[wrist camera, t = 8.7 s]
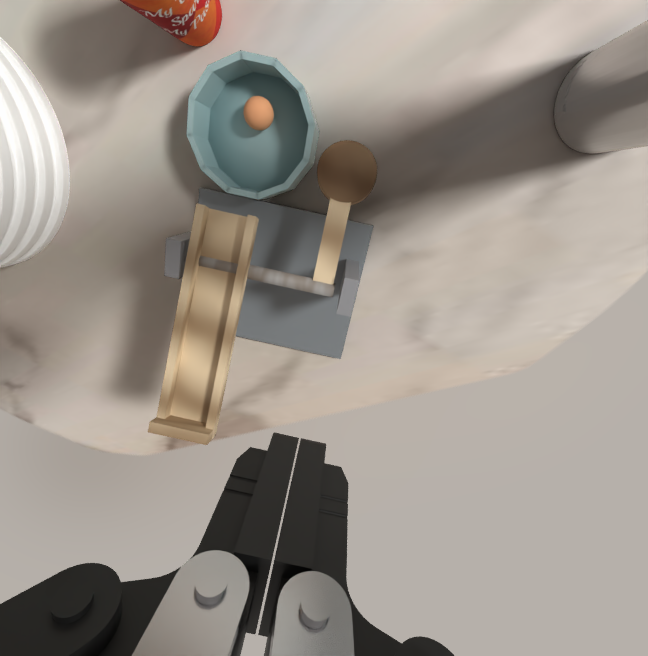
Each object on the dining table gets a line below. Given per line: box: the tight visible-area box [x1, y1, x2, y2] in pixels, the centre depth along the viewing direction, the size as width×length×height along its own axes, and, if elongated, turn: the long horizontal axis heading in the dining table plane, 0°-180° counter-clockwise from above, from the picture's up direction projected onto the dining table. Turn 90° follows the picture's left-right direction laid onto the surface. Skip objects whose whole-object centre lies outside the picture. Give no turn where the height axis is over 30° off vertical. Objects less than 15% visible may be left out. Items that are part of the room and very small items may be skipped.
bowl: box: [187, 50, 320, 200], centre depth 37 cm, size 12×12×5 cm
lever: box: [148, 140, 377, 445], centre depth 34 cm, size 30×16×4 cm, turn 168°
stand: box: [164, 188, 373, 359], centre depth 40 cm, size 17×20×10 cm
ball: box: [243, 96, 274, 131], centre depth 36 cm, size 3×3×3 cm
